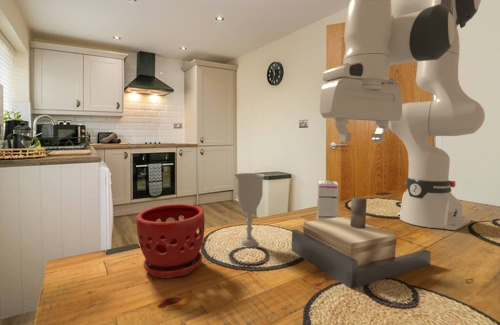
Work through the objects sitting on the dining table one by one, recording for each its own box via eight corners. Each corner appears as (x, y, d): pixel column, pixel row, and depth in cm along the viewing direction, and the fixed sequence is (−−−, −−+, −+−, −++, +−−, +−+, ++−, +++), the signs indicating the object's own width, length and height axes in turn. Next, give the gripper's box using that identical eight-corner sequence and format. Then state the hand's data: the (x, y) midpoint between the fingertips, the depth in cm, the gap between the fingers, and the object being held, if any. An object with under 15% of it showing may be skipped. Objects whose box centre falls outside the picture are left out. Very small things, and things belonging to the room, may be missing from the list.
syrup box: (337, 235, 79) (340, 184, 78) (316, 233, 80) (318, 183, 79) (335, 228, 84) (337, 180, 83) (315, 227, 86) (317, 180, 84)
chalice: (241, 256, 64) (242, 177, 63) (229, 245, 70) (230, 174, 69) (269, 250, 68) (270, 176, 66) (255, 241, 74) (256, 172, 72)
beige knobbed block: (343, 244, 69) (345, 191, 68) (394, 268, 57) (398, 204, 55) (302, 252, 64) (304, 195, 63) (349, 281, 51) (353, 211, 50)
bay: (360, 241, 75) (362, 218, 74) (429, 270, 58) (431, 242, 58) (291, 255, 65) (292, 230, 64) (350, 295, 49) (352, 261, 48)
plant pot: (152, 254, 65) (151, 203, 64) (209, 255, 64) (209, 204, 63) (125, 283, 52) (123, 219, 51) (197, 285, 51) (196, 221, 50)
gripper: (386, 82, 65) (383, 142, 67) (316, 71, 56) (313, 141, 58) (412, 77, 60) (408, 142, 61) (338, 64, 51) (335, 141, 52)
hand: (361, 141), depth 59 cm, fingers open, 8 cm apart
